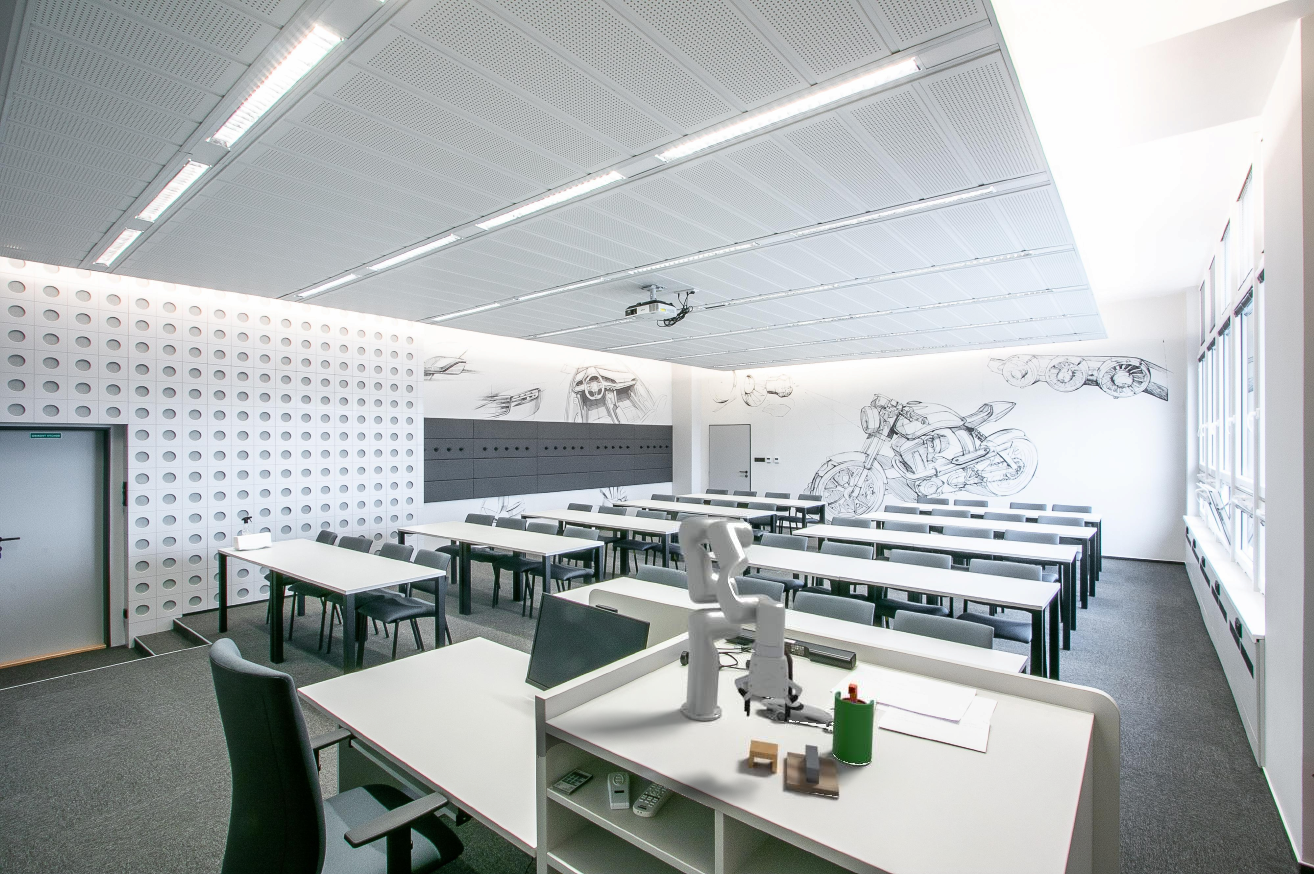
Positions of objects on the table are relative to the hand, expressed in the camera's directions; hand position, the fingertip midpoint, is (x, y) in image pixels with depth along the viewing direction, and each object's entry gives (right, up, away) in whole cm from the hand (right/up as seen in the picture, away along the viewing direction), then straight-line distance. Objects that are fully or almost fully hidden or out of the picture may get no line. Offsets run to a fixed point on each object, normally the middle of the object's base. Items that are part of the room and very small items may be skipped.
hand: (767, 717), depth 154 cm
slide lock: (-1, -12, 0) cm, 12 cm away
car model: (+16, -15, +30) cm, 37 cm away
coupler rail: (+10, -11, -4) cm, 16 cm away
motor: (+24, -14, +7) cm, 29 cm away
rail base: (+10, -13, -5) cm, 17 cm away
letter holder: (+12, -15, +54) cm, 57 cm away
